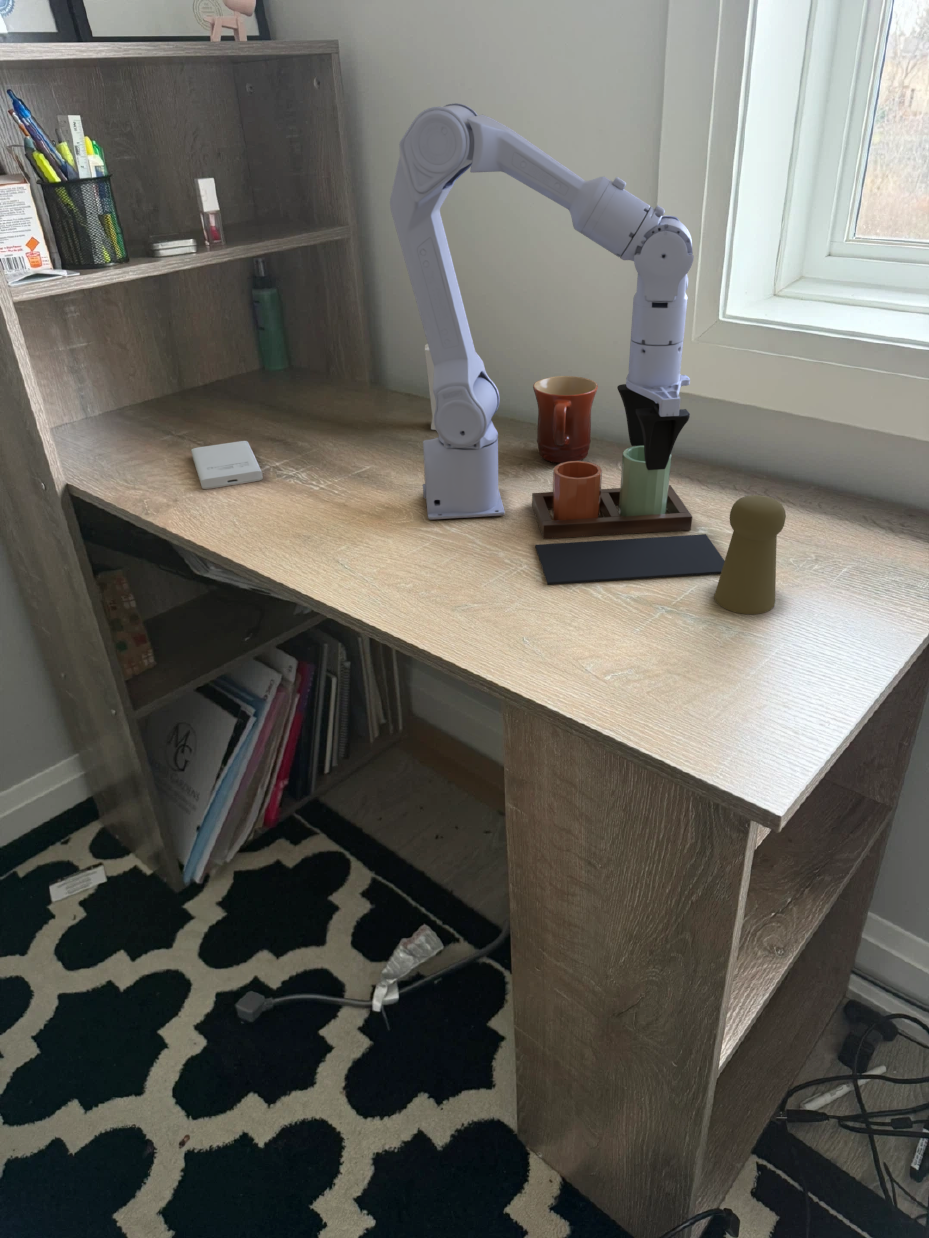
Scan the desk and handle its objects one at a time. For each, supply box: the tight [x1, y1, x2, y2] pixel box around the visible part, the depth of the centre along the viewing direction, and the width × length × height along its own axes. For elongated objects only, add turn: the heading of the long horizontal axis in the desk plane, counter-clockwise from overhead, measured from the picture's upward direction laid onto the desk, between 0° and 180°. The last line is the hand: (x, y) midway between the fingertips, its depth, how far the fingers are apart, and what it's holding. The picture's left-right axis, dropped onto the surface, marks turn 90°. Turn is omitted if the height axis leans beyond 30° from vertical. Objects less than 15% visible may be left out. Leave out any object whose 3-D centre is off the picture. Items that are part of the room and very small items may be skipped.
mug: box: [532, 375, 599, 465], centre depth 123 cm, size 12×9×10 cm
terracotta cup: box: [551, 460, 603, 521], centre depth 107 cm, size 6×6×6 cm
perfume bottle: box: [424, 343, 436, 431], centre depth 135 cm, size 5×4×15 cm
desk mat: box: [535, 533, 725, 586], centre depth 100 cm, size 20×9×1 cm, turn 94°
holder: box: [531, 484, 693, 540], centre depth 109 cm, size 18×9×2 cm, turn 94°
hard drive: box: [190, 440, 264, 490], centre depth 126 cm, size 2×8×12 cm
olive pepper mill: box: [713, 494, 787, 615], centre depth 89 cm, size 6×6×11 cm
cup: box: [618, 445, 673, 516], centre depth 107 cm, size 6×6×8 cm
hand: (647, 456), depth 106 cm, fingers open, 7 cm apart
